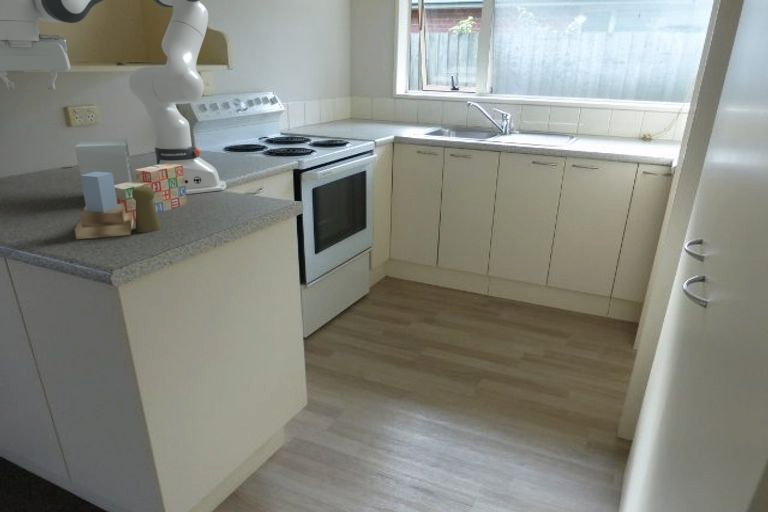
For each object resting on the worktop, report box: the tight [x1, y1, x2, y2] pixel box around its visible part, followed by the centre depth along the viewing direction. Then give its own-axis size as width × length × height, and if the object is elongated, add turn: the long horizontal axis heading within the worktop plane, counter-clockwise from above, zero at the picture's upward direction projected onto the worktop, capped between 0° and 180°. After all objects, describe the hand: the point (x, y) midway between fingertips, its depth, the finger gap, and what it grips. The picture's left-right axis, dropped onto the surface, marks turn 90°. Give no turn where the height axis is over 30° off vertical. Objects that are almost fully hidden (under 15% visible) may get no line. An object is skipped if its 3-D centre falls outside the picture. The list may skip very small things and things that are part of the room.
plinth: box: [74, 204, 135, 240], centre depth 133 cm, size 12×12×6 cm
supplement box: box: [74, 138, 134, 205], centre depth 161 cm, size 13×13×18 cm
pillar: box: [79, 172, 118, 213], centre depth 131 cm, size 5×5×9 cm
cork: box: [132, 187, 162, 233], centre depth 134 cm, size 6×6×11 cm
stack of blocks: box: [114, 164, 188, 221], centre depth 149 cm, size 21×6×12 cm, turn 155°
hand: (31, 89), depth 142 cm, fingers open, 8 cm apart
